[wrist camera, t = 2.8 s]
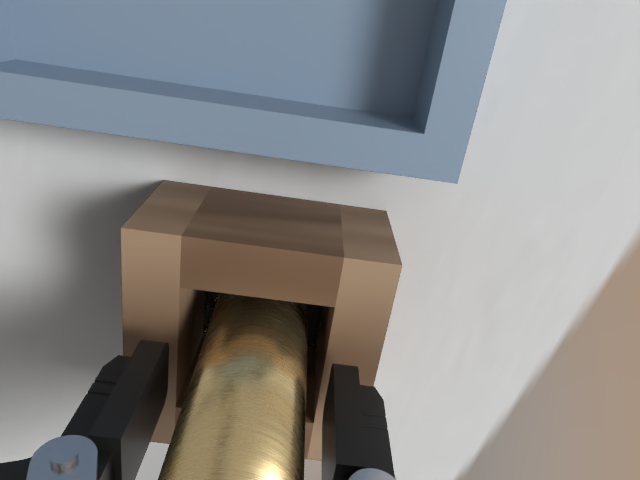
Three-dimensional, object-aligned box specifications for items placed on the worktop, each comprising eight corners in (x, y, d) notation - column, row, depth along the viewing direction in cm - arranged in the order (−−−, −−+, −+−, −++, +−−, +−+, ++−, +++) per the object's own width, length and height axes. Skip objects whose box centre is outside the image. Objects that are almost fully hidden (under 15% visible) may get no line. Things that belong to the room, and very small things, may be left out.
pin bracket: (163, 180, 17) (121, 227, 14) (386, 211, 18) (402, 265, 14) (160, 361, 20) (125, 438, 17) (349, 383, 21) (354, 464, 17)
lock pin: (227, 245, 18) (138, 494, 9) (316, 260, 18) (314, 516, 9) (218, 320, 20) (133, 600, 11) (301, 332, 20) (287, 616, 11)
